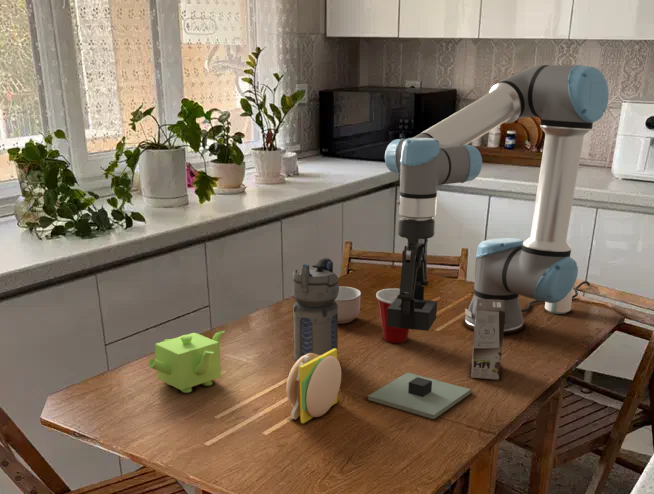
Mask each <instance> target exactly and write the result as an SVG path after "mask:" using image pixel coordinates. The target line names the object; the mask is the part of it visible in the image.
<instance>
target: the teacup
mask: <svg viewBox="0 0 654 494" xmlns="http://www.w3.org/2000/svg"><path fill="white" fill-rule="evenodd" d="M361 295H362V293H361V290H359V289H357V288H355V287H351V286H339V293H338V296H337V298H336V299H335V302H336V303H337V304H338V324H340V325H341V324H348V323H350V322H352V321H354V320H355V319H357V317H358V316H359V314H360V311H361Z"/></svg>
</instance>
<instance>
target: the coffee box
mask: <svg viewBox="0 0 654 494" xmlns="http://www.w3.org/2000/svg"><path fill="white" fill-rule="evenodd" d="M505 313H506V308H505V300H494V299H487V300H485V299H477V306H476V317H475V329H474V330H473V344H472V359H471V374H470V377H471V378H472V379H484V380H495V381H498V380H499V379H500V371H501V361H502V353H503V345H504V344H503V343H504V335H505V334H504V323H505Z"/></svg>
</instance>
